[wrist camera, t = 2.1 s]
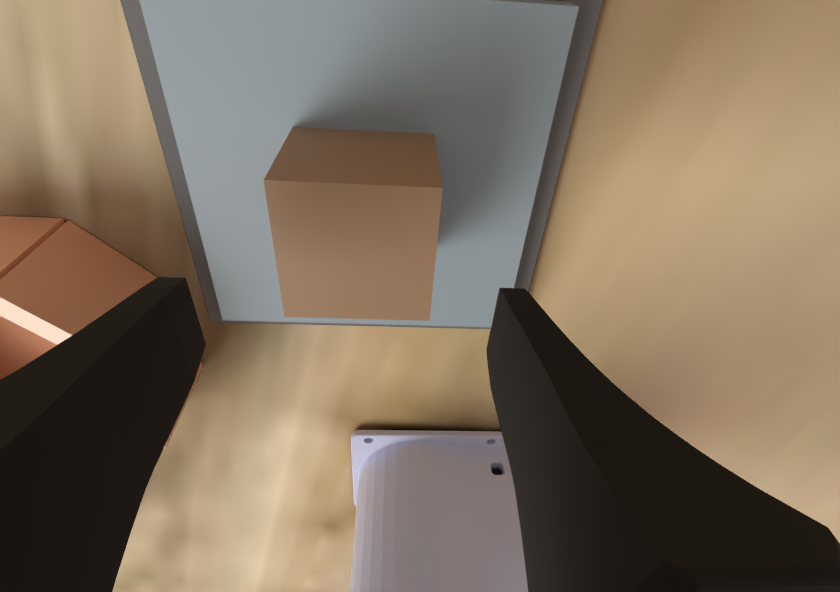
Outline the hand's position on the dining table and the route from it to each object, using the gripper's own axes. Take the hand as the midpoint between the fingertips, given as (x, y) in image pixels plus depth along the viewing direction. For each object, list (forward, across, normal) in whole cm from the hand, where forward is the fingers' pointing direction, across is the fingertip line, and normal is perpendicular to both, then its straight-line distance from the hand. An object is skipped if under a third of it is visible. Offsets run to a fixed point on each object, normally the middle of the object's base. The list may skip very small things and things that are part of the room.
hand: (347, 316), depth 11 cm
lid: (+8, 0, 0) cm, 8 cm away
